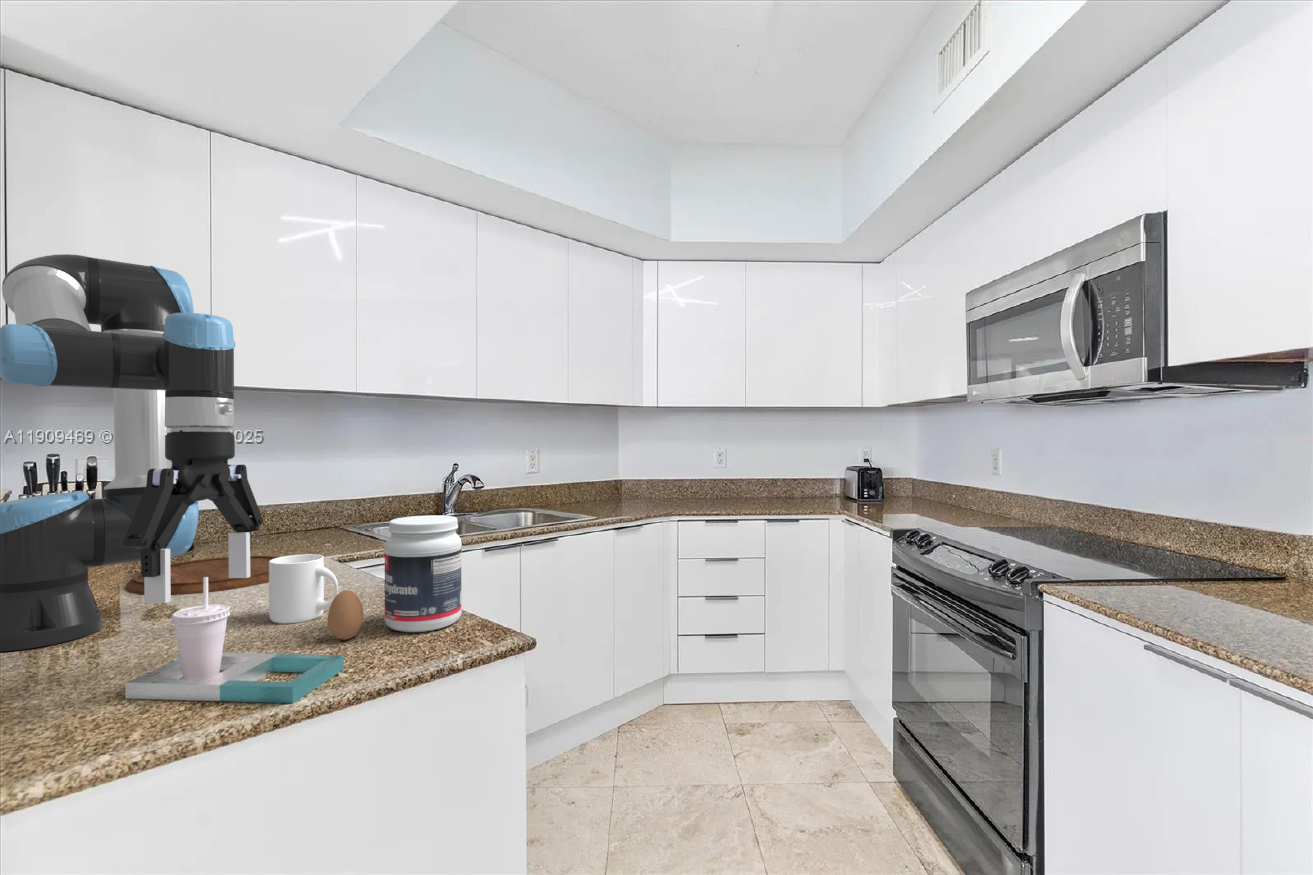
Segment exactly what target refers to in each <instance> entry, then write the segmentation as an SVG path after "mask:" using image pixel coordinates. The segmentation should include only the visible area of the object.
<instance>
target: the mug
mask: <svg viewBox="0 0 1313 875" xmlns="http://www.w3.org/2000/svg"><path fill="white" fill-rule="evenodd" d="M278 557H279V558H275V559H272V560H270V561H269V582H268V611H269V612H268V614H269V616H268V617H269V619H270V621H271V622H272V623H275V624H283V625H287V624H288V625H289V624H297V623H298V624H299V623H303V622H309V621H312V620H314V619H318V618H319V617H320V616H322V614H323V613H324V611H325V610H327V609H329V608H330V606H331V603H332V601H333V600H334V598H335V597H336V596H337V595H338V594H339V583H338V582H339V581H338V579H337V577H336V575H335V573H333V571H331V570H330V569H329V568H327V567H325V566H324V565H325V564H324V563H325V562H324V560H325V558H324V556H323V555H321V554H314V553H313V554H312V553H311V554H303V553H302V554H294V555H293V554H292V555H285V556H278ZM325 578H328V579H329V580H331V581H332V583H333V584H334V587H335V593H334V596H333V597H332V598H331V599H330V600H325V598H324V597H325V581H324V580H325Z"/></svg>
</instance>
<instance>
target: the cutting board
mask: <svg viewBox="0 0 1313 875" xmlns="http://www.w3.org/2000/svg"><path fill="white" fill-rule="evenodd" d="M279 557H280V556H276V555H275V556H274V555H250V577H248V578H229V556H221V557H210V558H202V559H201V558H200V559H195V560H194V559H193V560H188V561H181V562H175V563H170V582H171V596H180V595H181V596H182V595H183V596H184V595H195V594H203V577H208V593H215V592H223V591H230V590H236V589H237V590H238V589H243V588H249V587H254V586H259V585H262V584H268V583H269V561H270V560H272V559H275V558H279ZM125 590H126V591H127V592H128V593H131V594H136V595H141V596H142V595H143V596H145V594H144V577H142V575H141V571H139V572H138V573H135V574H134V575H133V576H132V579H130V580H129V581H128V582H127V583H126V584H125Z"/></svg>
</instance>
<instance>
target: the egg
mask: <svg viewBox="0 0 1313 875" xmlns="http://www.w3.org/2000/svg"><path fill="white" fill-rule="evenodd" d="M363 622H364V608H363V605H362V602H361V600H360V598H359V596H358V595H357V594H356V593H355V592H353V591H351V590H348V589H347V590H342V591H341V592H338V595H337V596H336V597H335V598H334V600H333V601H332V603H331V606H330V607H329V608H328V614H327V624H328V625H327V626H328V628H329V631H330V632H331V633H332V635H333V636H334V637H335V638H337V639H339V640H343V641H344V640H349V639H351V638H353V637H354V636H356V635H357V633H358V632H359V631H360V629H361V627H362V625H363Z"/></svg>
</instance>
